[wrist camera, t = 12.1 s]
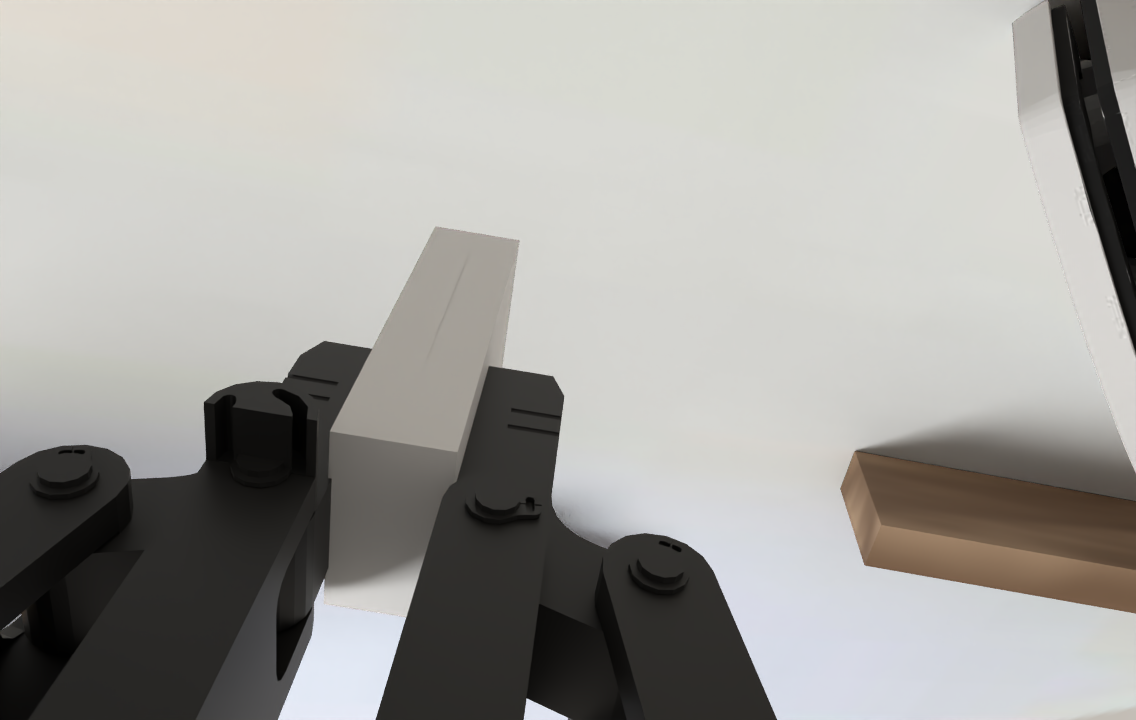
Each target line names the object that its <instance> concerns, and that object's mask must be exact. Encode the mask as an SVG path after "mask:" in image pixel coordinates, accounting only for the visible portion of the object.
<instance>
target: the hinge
mask: <svg viewBox="0 0 1136 720" xmlns="http://www.w3.org/2000/svg"><path fill="white" fill-rule="evenodd" d="M1081 6H1082V11H1083V17H1084V22H1085V28H1086V33H1087V39H1088V44H1089V50H1090V56H1091V60H1084V59H1080V57H1079V51H1078V47H1077V44H1076V41H1075V37H1074V34H1073V31H1072V27H1071V24H1070V20H1069V17H1068V14H1067V10H1066V7H1065V5H1063V6H1060V7H1058V8H1055V9H1053V10H1051V7H1050V4H1049V1H1048V0H1046V1H1044V2H1042V3H1041V4H1039V5H1037V6H1036V7H1034V8H1033V9H1031V10H1029V11H1028V12H1026V13H1024V14H1023V15H1022V16H1021V17H1019V18H1018V19H1017V20H1015V21H1014V22H1013V23H1012V25H1013V41H1014V56H1015V72H1016V88H1017V103H1018V117H1019V122H1020V127H1021V132H1022V136H1023V139H1024V143H1025V147H1026V150H1027V154H1028V157H1029V161H1030V164H1031V168H1032V171H1033V175H1034V178H1035V182H1036V185H1037V188H1038V192H1039V195H1040V198H1041V202H1042V205H1043V209H1044V212H1045V215H1046V219H1047V222H1048V225H1049V229H1050V232H1051V235H1052V238H1053V242H1054V245H1055V248H1056V251H1057V254H1058V258H1059V261H1060V264H1061V267H1062V271H1063V274H1064V277H1065V280H1066V283H1067V287H1068V290H1069V293H1070V296H1071V299H1072V302H1073V305H1074V308H1075V311H1076V314H1077V317H1078V320H1079V323H1080V326H1081V329H1082V332H1083V335H1084V338H1085V341H1086V344H1087V347H1088V350H1089V353H1090V356H1091V359H1092V361H1093V364H1094V367H1095V370H1096V373H1097V376H1098V379H1099V382H1100V385H1101V387H1102V390H1103V393H1104V395H1105V398H1106V401H1107V403H1108V406H1109V409H1110V411H1111V414H1112V416H1113V419H1114V422H1115V424H1116V427H1117V430H1118V432H1119V435H1120V437H1121V440H1122V442H1123V445H1124V447H1125V450H1126V452H1127V454H1128V457H1129V459H1130V461H1131V464H1132V466H1133V468H1134V470H1135V473H1136V258H1131V257H1127V255H1126V252H1125V248H1124V245H1123V242H1122V239H1121V235H1120V232H1119V229H1118V226H1117V222H1116V219H1115V216H1114V213H1113V209H1112V206H1111V203H1110V200H1109V196H1108V193H1107V190H1106V187H1105V184H1104V180H1103V175H1104V174H1105V173H1107V172H1108V171H1109V170H1111V169H1112V168H1115V167H1118V171H1119V174H1120V178H1121V181H1122V185H1123V188H1124V192H1125V195H1126V199H1127V203H1128V206H1129V210H1130V213H1131V217H1132V220H1133V224H1134V227H1135V231H1136V0H1081Z"/></svg>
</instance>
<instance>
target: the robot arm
mask: <svg viewBox="0 0 1136 720" xmlns="http://www.w3.org/2000/svg"><path fill="white" fill-rule="evenodd" d="M518 247H519V240H513V239H507V238H501V237H495V236H489V235H483V234H477V233H471V232H466V231H460V230H454V229H448V228H442V227H435V228H434V230H433V232H432V234H431V236H430V238H429V240H428V242H427V244H426V246H425V248H424V250H423V252H422V254H421V256H420V258H419V259H418V261H417V263H416V265H415V267H414V269H413V271H412V273H411V275H410V277H409V279H408V281H407V283H406V285H405V287H404V289H403V290H402V292H401V294H400V296H399V298H398V300H397V302H396V304H395V306H394V308H393V310H392V312H391V314H390V316H389V318H388V319H387V321H386V323H385V325H384V327H383V329H382V331H381V333H380V335H379V337H378V339H377V341H376V343H375V345H374V347H373V349H370V348H363V347H357V346H351V345H345V344H339V343H333V342H327V341H324V342H322V343H320V344H319V345H317V346H315V347H313V348H312V349H310V350H308V351H307V352H305V353H303V354H301V355H300V356H299V358H298V359H297V361H296V363H295V364H294V366H293V367H292V369H291V370H290V372H289V373H288V378H285V379H284V381H283V383H278V382H260V381H256V382H249V383H242V384H235V385H233V386H230V387H227V388H225V389H222V390H220V391H217V392H216V393H214V394H213V395H212V396H211V397H210V398H208V399H207V400H206V401H205V402H204V418H205V441H206V461H205V463H204V464H203V466H202V467H201V469H200V470H199V471H198V473H195V474H191V475H187V476H178V477H169V478H148V479H131V475H130V468H129V467H128V465H127V464H126V462H125V460H124V459H123V457H121V456H119V455H118V454H116V453H114V452H112V451H110V450H108V449H105V448H100V447H94V446H89V445H74V446H60V447H56V448H52V449H47V450H43V451H39V452H37V453H35V454H32V455H30V456H28V457H26V458H24V459H22V460H20V461H18V462H16V463H15V464H13V465H12V466H10V467H9V468H7V469H6V470H4V471H3V472H1V473H0V720H278V717H279V715H280V712H281V710H282V707H283V705H284V703H285V700H286V698H287V695H288V693H289V690H290V688H291V685H292V683H293V680H294V678H295V675H296V673H297V670H298V668H299V665H300V663H301V660H302V658H303V655H304V653H305V650H306V648H307V645H308V643H309V641H310V638H311V636H312V629H313V621H314V601H315V599H316V596H317V594H318V592H319V589H320V587H321V584H322V582H323V580H324V577H325V585H324V604H326V605H333V606H339V607H345V608H351V609H358V610H364V611H370V612H376V613H383V614H389V615H395V616H401V617H406V620H405V624H404V627H403V630H402V634H401V637H400V640H399V644H398V647H397V650H396V654H395V657H394V660H393V664H392V667H391V670H390V674H389V677H388V680H387V684H386V687H385V690H384V694H383V697H382V700H381V704H380V707H379V710H378V714H377V717H376V720H524V713H525V705H526V698H527V699H530V700H532V701H534V702H536V703H538V704H540V705H542V706H544V707H547V708H549V709H551V710H553V711H555V712H557V713H559V714H561V715H564V716H566V717H568V720H777V719H776V716H775V714H774V712H773V709H772V707H771V705H770V702H769V700H768V698H767V695H766V693H765V691H764V688H763V686H762V684H761V681H760V679H759V677H758V674H757V672H756V670H755V667H754V665H753V663H752V660H751V658H750V656H749V653H748V651H747V649H746V646H745V644H744V642H743V639H742V637H741V635H740V632H739V630H738V628H737V625H736V623H735V621H734V618H733V616H732V614H731V611H730V609H729V607H728V604H727V602H726V600H725V597H724V595H723V593H722V590H721V588H720V586H719V583H718V581H717V579H716V576H715V574H714V572H713V570H712V569H711V567H710V566H709V564H708V563H707V562H706V560H705V559H704V557H703V556H702V555H700V554H699V553H698V552H696V551H695V550H694V549H692V548H691V547H690V546H688V545H687V544H685V543H682V542H680V541H677V540H675V539H672V538H670V537H667V536H662V535H654V534H647V533H644V534H637V535H630V536H625V537H623V538H621V539H620V540H618V541H616V542H614V543H612V544H611V545H610V547H609V548H608V549H605V548H603V547H600V546H598V545H595V544H593V543H591V542H589V541H587V540H585V539H583V538H581V537H579V536H577V535H576V534H574V533H573V532H572V531H571V530H569V529H568V528H567V527H565V526H564V524H563V523H562V522H561V521H560V520H559V518H558V517H557V516H556V513H555V511H554V509H553V507H552V497H551V494H552V487H553V479H554V471H555V464H556V456H557V448H558V441H559V433H560V425H561V417H562V410H563V402H564V395H563V393H562V391H561V389H560V388H559V386H558V384H557V382H556V381H555V379H554V377H553V376H548V375H541V374H535V373H529V372H523V371H517V370H511V369H505V368H502V364H503V356H504V349H505V342H506V334H507V327H508V320H509V312H510V305H511V298H512V291H513V283H514V276H515V269H516V261H517V254H518ZM20 614H21V615H22V616H20V617H19V618H18V619H17V620H16V621H15V622H13V623H12V624H11V625H10V626H8V627H6V628H4V627H5V626H7V625H8V624H9V623H10V622H11V621H13V620H14V619H15V618H16V617H17V616H18V615H20ZM3 628H4V629H3ZM2 629H3V630H2Z"/></svg>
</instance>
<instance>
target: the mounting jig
mask: <svg viewBox="0 0 1136 720" xmlns="http://www.w3.org/2000/svg"><path fill="white" fill-rule="evenodd" d="M841 492H842V495H843V498H844V502H845V505H846V508H847V511H848V514H849V517H850V521H851V524H852V527H853V530H854V533H855V536H856V540H857V543H858V546H859V549H860V552H861V555H862V559H863V562H864V565H866V566H871V567H877V568H883V569H888V570H894V571H899V572H905V573H911V574H916V575H922V576H928V577H933V578H939V579H945V580H950V581H956V582H962V583H967V584H973V585H978V586H984V587H990V588H995V589H1001V590H1007V591H1012V592H1018V593H1024V594H1029V595H1035V596H1041V597H1046V598H1052V599H1057V600H1063V601H1069V602H1074V603H1080V604H1086V605H1091V606H1097V607H1103V608H1108V609H1114V610H1120V611H1125V612H1131V613H1136V501H1130V500H1125V499H1119V498H1114V497H1108V496H1103V495H1097V494H1091V493H1086V492H1080V491H1075V490H1069V489H1064V488H1058V487H1052V486H1047V485H1041V484H1036V483H1030V482H1025V481H1019V480H1013V479H1008V478H1002V477H997V476H991V475H986V474H980V473H974V472H969V471H963V470H958V469H952V468H947V467H941V466H936V465H930V464H924V463H919V462H913V461H908V460H902V459H897V458H891V457H885V456H880V455H874V454H869V453H863V452H858V451H855V452H854V454H853V457H852V460H851V462H850V465H849V468H848V470H847V473H846V475H845V478H844V481H843V483H842V486H841Z"/></svg>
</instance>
